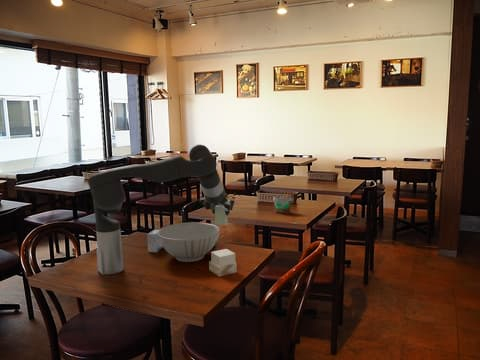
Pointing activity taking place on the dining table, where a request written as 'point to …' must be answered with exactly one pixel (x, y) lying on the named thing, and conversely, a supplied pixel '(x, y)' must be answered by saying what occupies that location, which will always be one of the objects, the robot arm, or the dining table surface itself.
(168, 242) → the decorative bowl
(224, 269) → the bottom block
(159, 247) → the medicine box
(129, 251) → the dining table surface
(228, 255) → the white block
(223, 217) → the pale green block
